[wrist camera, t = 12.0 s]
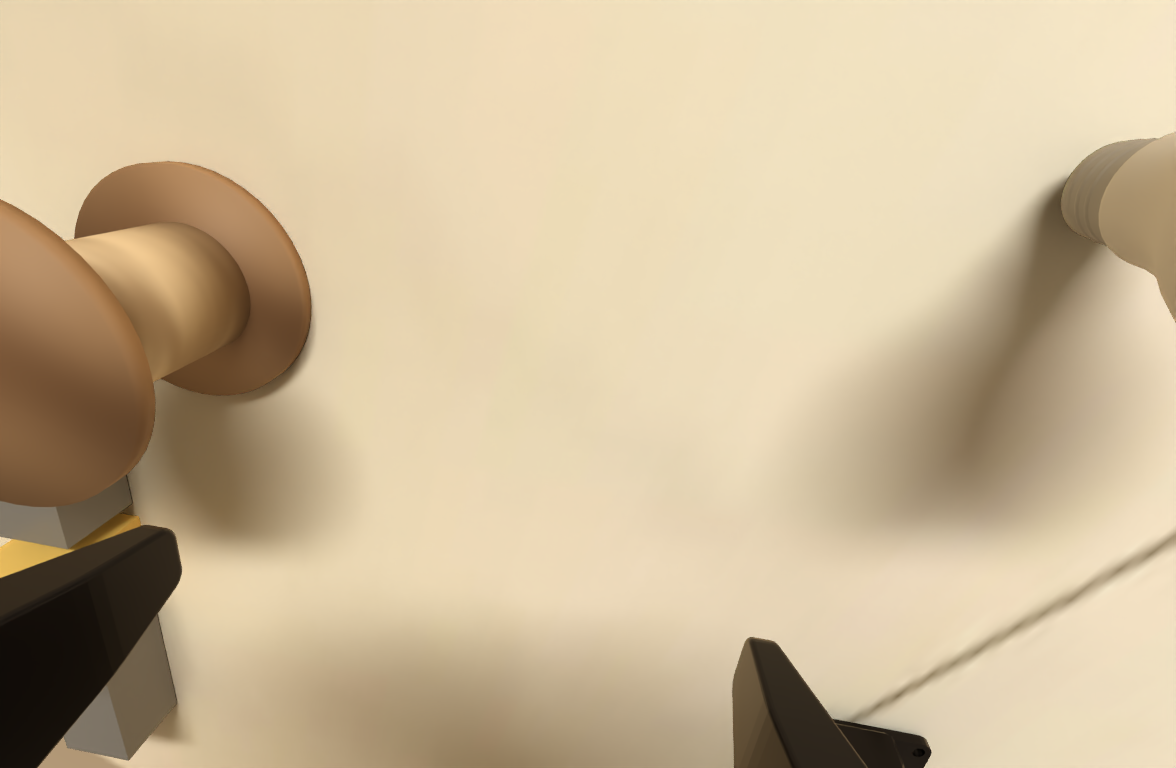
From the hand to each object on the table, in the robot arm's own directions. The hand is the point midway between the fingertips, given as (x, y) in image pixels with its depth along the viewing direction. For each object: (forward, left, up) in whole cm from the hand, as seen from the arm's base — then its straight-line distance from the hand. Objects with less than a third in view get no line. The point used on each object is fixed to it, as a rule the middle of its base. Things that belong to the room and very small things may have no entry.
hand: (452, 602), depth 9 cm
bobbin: (0, +13, -12) cm, 18 cm away
